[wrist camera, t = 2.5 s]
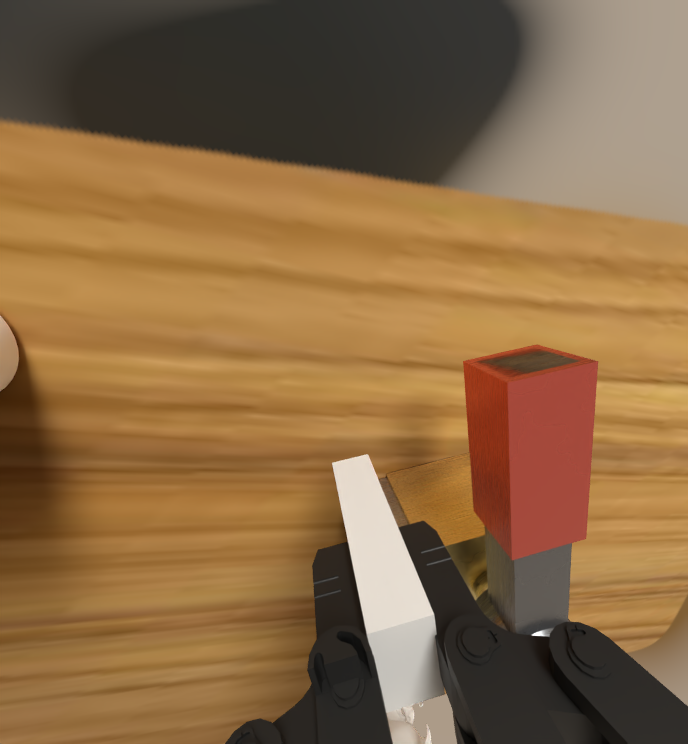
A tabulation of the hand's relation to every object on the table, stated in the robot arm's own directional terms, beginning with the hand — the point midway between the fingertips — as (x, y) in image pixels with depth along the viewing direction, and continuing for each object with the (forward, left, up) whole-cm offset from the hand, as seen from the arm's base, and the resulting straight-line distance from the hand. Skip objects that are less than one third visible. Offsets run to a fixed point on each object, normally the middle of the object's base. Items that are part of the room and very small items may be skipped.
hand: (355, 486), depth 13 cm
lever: (+6, -4, 0) cm, 7 cm away
